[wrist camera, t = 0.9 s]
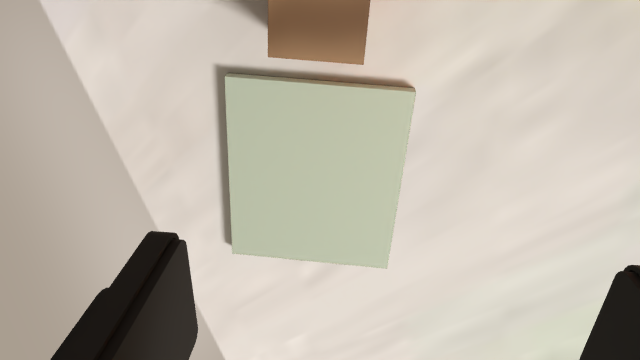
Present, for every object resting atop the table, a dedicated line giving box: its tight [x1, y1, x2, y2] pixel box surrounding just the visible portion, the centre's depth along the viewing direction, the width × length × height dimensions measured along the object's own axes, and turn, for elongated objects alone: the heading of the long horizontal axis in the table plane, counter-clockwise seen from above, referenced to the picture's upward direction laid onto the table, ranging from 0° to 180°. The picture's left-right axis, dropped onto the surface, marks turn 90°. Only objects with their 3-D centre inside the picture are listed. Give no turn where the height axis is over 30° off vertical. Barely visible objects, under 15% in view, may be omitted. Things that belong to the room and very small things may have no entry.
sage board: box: [225, 73, 416, 269], centre depth 32 cm, size 14×12×1 cm
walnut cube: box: [268, 0, 370, 65], centre depth 25 cm, size 5×5×5 cm
